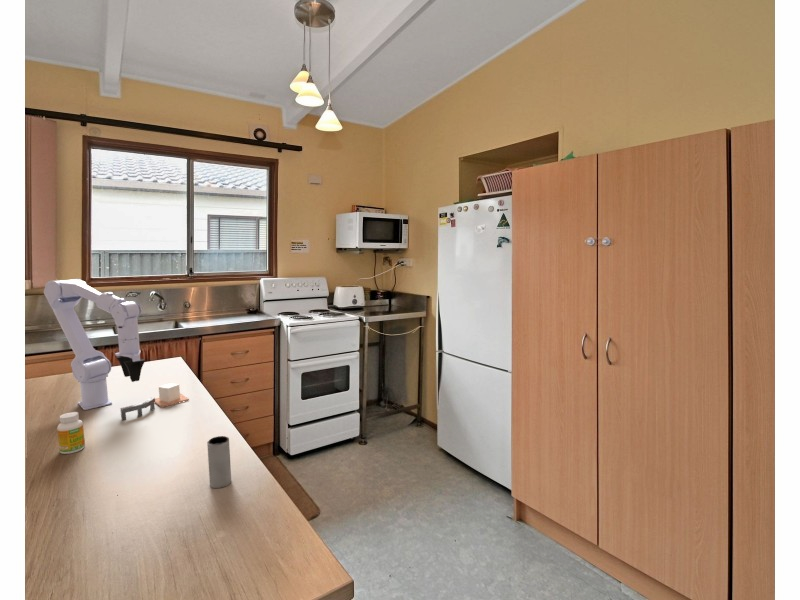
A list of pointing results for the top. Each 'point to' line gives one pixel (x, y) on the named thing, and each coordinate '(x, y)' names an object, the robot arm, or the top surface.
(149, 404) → the bent rail
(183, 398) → the terracotta tile
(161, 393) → the cream block
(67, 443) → the supplement bottle
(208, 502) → the top surface
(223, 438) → the grey tube
